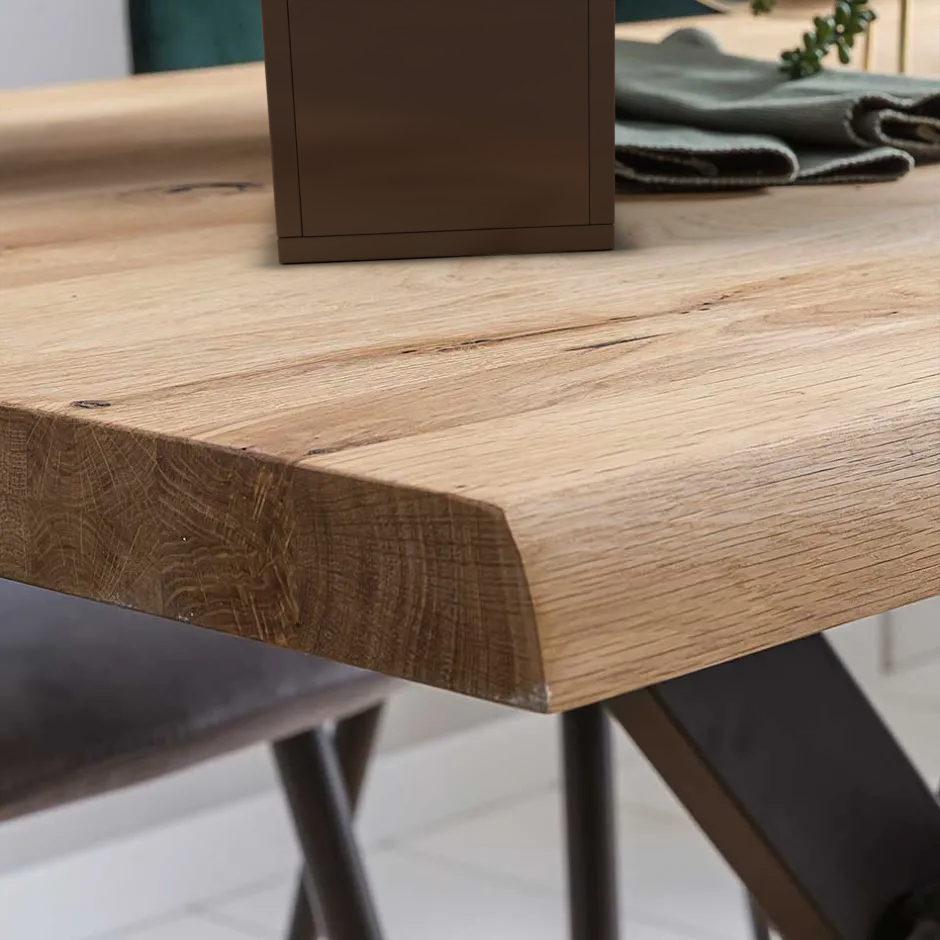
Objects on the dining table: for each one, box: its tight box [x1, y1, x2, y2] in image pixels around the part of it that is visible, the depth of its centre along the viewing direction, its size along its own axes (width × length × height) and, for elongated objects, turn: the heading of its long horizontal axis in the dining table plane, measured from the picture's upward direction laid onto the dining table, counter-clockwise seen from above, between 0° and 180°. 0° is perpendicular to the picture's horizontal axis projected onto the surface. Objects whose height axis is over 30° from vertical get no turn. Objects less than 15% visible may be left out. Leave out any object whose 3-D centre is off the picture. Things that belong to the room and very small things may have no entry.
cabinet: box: [259, 0, 616, 264], centre depth 60 cm, size 14×12×10 cm
